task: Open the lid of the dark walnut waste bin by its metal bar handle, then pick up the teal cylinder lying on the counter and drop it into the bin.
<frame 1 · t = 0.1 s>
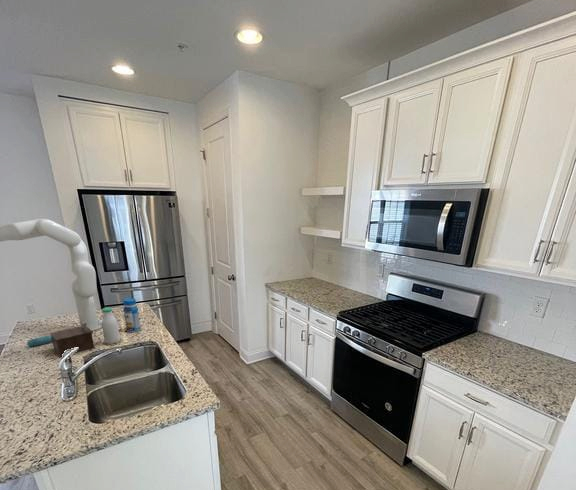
beverage bottle: (133, 330, 195), on the countertop
teal cylinder: (40, 344, 171), on the countertop
bin: (74, 348, 167), on the countertop
milk bottle: (112, 341, 178), on the countertop
bin lid: (70, 329, 164), point 11 cm above the countertop, hinge at 0.0°
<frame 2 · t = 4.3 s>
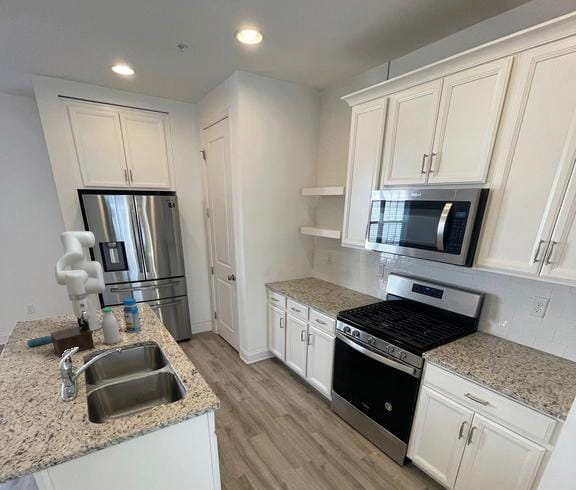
hand: (84, 328, 168), 10 cm above the countertop, tool pointing down, fingers closed on bin lid, 6 cm apart
bin lid: (70, 329, 164), point 11 cm above the countertop, hinge at 0.0°, touching gripper
everything else where it was.
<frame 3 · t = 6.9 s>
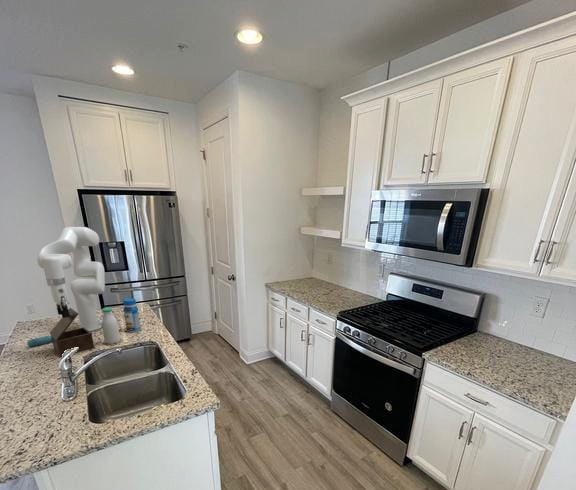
hand: (64, 315, 160), 20 cm above the countertop, tool pointing down, fingers closed on bin lid, 6 cm apart
bin lid: (59, 321, 159), point 17 cm above the countertop, hinge at 45.8°, touching gripper
everything else where it was.
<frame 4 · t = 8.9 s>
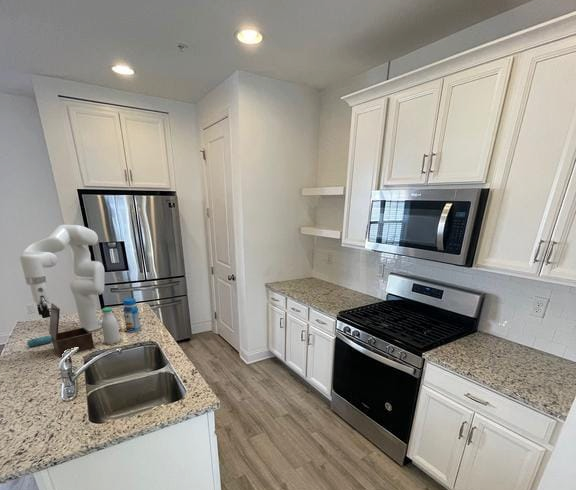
hand: (44, 315, 154), 21 cm above the countertop, tool pointing down, fingers closed on bin lid, 6 cm apart
bin lid: (49, 321, 156), point 18 cm above the countertop, hinge at 76.1°, touching gripper
everything else where it was.
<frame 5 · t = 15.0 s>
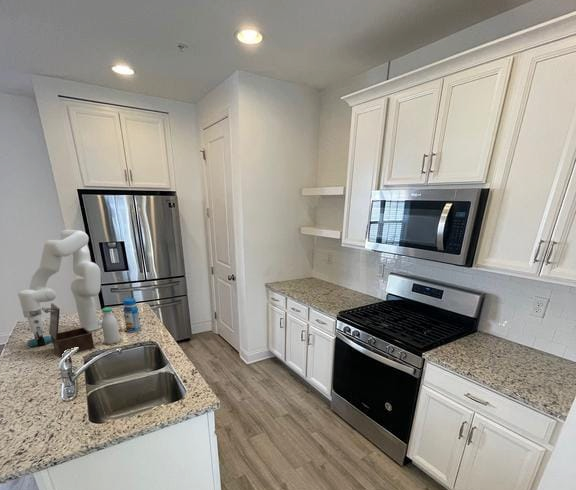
hand: (40, 343, 171), 0 cm above the countertop, tool pointing down, fingers closed on teal cylinder, 4 cm apart
teal cylinder: (40, 344, 171), on the countertop, touching gripper
bin lid: (48, 321, 156), point 18 cm above the countertop, hinge at 76.3°
everything else where it was.
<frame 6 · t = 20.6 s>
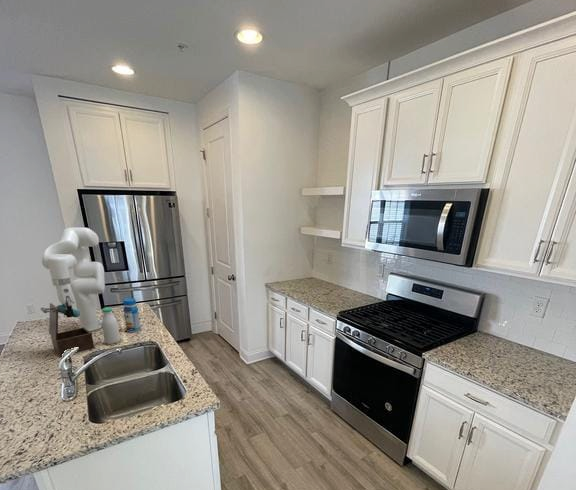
hand: (69, 315, 161), 19 cm above the countertop, tool pointing down, fingers closed on teal cylinder, 4 cm apart
teal cylinder: (66, 314, 160), point 20 cm above the countertop, tilted 36°, touching gripper
bin lid: (48, 321, 156), point 18 cm above the countertop, hinge at 78.2°
everything else where it was.
when the fingers open (9 cm above the countertop, at t = 23.2 s): teal cylinder drops 9 cm, resting on bin.
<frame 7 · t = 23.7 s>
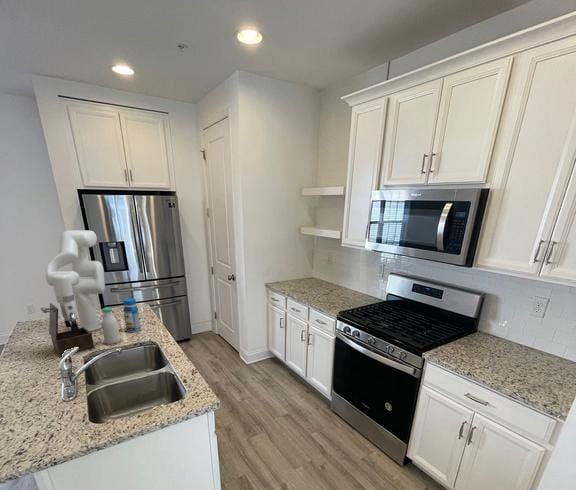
hand: (72, 329, 165), 11 cm above the countertop, tool pointing down, fingers open, 9 cm apart
teal cylinder: (72, 347, 166), point 1 cm above the countertop, tilted 21°, touching bin
everything else where it was.
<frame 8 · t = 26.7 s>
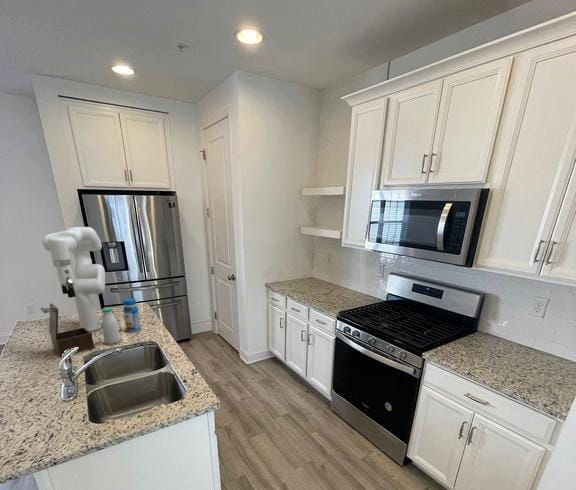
hand: (69, 295, 164), 28 cm above the countertop, tool pointing down, fingers open, 9 cm apart
teal cylinder: (72, 346, 166), point 2 cm above the countertop, tilted 65°, touching bin
everything else where it was.
at the end: bin lid at +78° (first picture: +0°); teal cylinder inside the target area in the bin (0.8 cm from its centre), point 1.9 cm above the bin's base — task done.
